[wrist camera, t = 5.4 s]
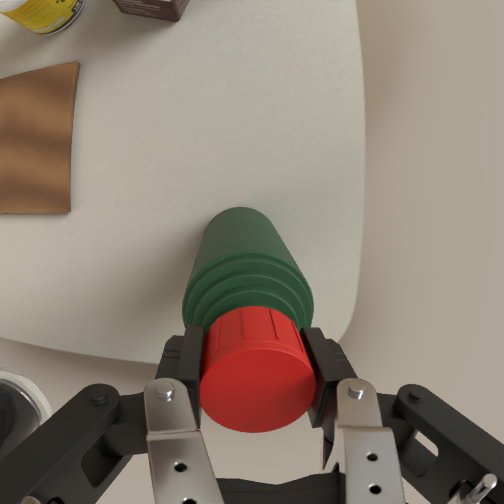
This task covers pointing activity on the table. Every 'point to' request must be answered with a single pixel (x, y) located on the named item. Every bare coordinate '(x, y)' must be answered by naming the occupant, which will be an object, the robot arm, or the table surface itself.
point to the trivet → (37, 139)
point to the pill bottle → (42, 13)
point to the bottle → (245, 272)
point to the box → (154, 8)
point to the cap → (255, 371)
